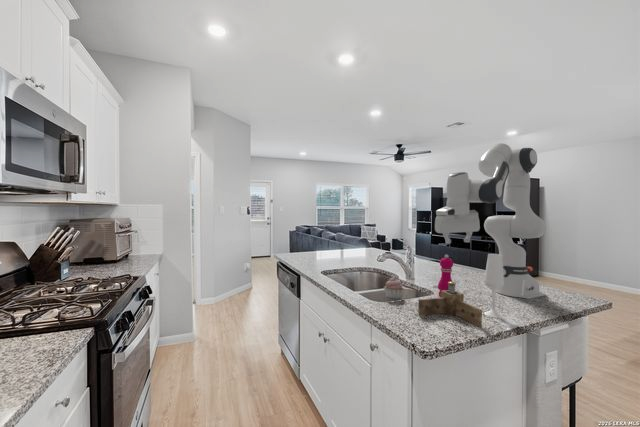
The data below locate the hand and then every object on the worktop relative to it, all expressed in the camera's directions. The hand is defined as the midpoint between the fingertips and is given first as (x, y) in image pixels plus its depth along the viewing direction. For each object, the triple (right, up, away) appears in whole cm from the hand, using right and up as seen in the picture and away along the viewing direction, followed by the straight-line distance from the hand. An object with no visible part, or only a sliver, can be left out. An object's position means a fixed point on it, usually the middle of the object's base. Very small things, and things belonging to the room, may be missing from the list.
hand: (457, 242), depth 125 cm
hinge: (-10, -28, -14) cm, 32 cm away
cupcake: (-25, -27, +11) cm, 38 cm away
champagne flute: (+10, -28, -9) cm, 31 cm away
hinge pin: (-5, -24, -6) cm, 25 cm away
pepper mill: (+1, -27, +15) cm, 31 cm away
